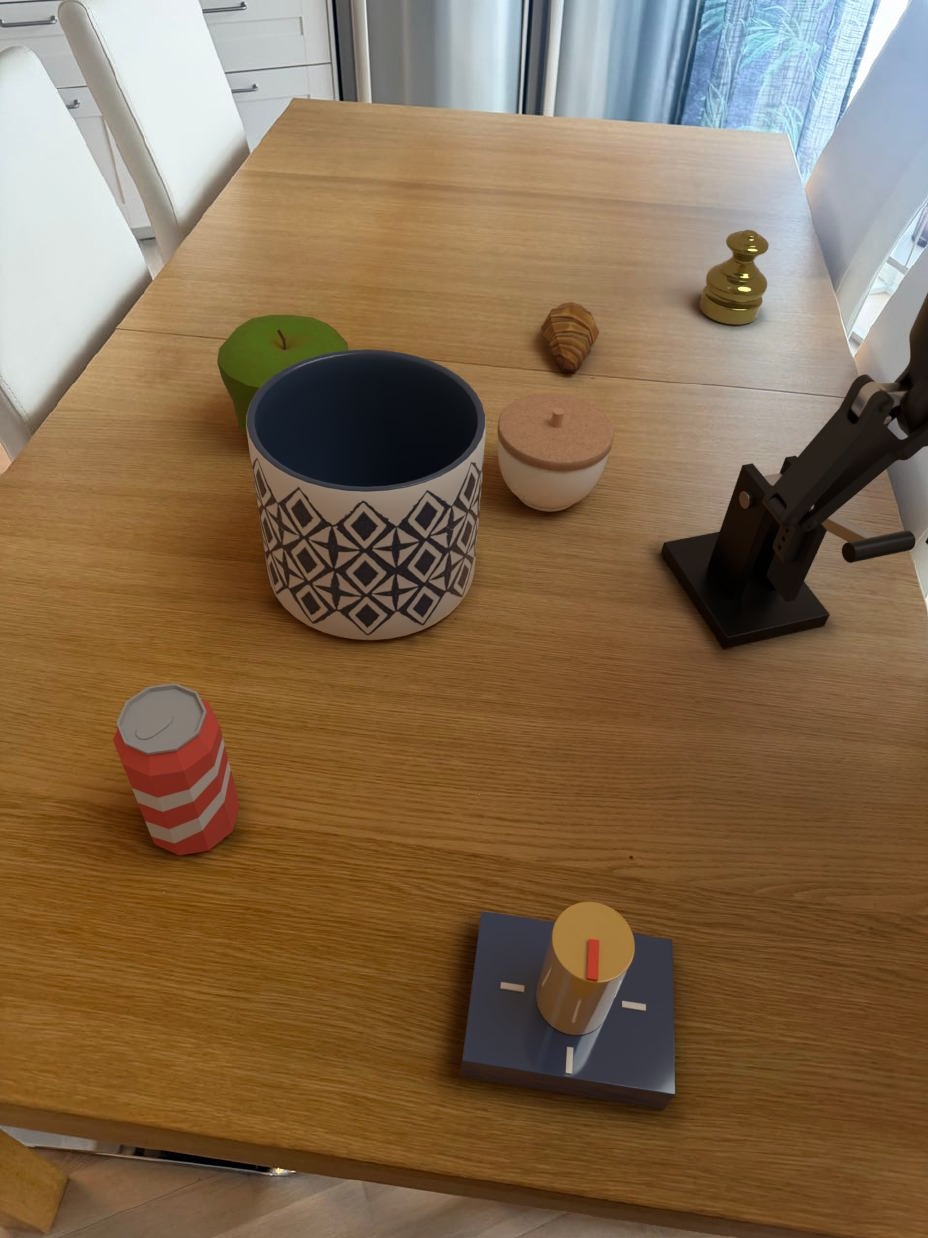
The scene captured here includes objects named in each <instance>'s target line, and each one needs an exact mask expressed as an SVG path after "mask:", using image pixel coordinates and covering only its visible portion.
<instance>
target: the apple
mask: <svg viewBox="0 0 928 1238" xmlns="http://www.w3.org/2000/svg"><path fill="white" fill-rule="evenodd" d="M346 350H350V349H349V344H348V341H346V339H345V338H344V337H343V336H342V335H341V334H340V333H339V331H337V329H335V328H334V327H333V326H331V325H330V324H329V323H328V322H327V323H326V322H324V321H322V320H320V319H317V318H314V317H313V316H312V317H311V316H304V315H295V314H267V315H263V316H256V317H252V318H249V319H248V320H247V321H245V322H244V323H242V324H240V325H238V326H237V327H236V328H235V329H234V330H233V331H232V333H231V334H230V335H229V336H228V338H227V339H226V340H225V341H223V343H222V345H221V346H220V347H219V348H218V354H217V360H216V363H217V368H218V370H219V374H220V377H221V380H222V382H223V385H224V386H225V389H226V390H227V393H228V394H229V397H230V399H231V402H232V404H233V405H232V406H233V409H234V412H235V415H236V416H235V417H236V419H237V420H236V421H237V424H238V428H240V430H241V431H242V432H243V433H244V435H245V436H246V437H247V429H246V415H247V412H248V408H249V405H250V403H251V401H252V399H253V397H254V396H255V394H256V392H257V391H258V390H259V389H260V388H261V387H262V385H263V384H264V383H265V382H266V381H268V380H269V379H270V378H271V377H273V376H274V375H275V374H277V373H278V372H280V371H282V370H283V369H285V368H287V367H288V366H291V365H293V364H295V363H297V362H300V361H302V360H305V359H308V358H311V357H314V356H318V355H322V354H327V353H332V352H338V351H346Z"/></svg>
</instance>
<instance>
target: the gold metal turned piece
mask: <svg viewBox="0 0 928 1238" xmlns="http://www.w3.org/2000/svg"><path fill="white" fill-rule="evenodd" d="M725 243H726V246H727V248H728V249H729V250H730V251H731V257H730V258H728V259H726V260H724V261H722V262H721V263H718V264H716V265H714V266H712V267H711V268H710V269H709V270H708V271H707V272H706V276H705V286H704V287H703V288H702V294H701V298H700V301H699V308H700V311H701V312H702V313H703V314H704V316H706V317H707V318H709V319H711V320H713V321H715V322H717V323H721V324H724V325H730V326H731V325H733V326H734V325H735V326H740V325H741V326H742V325H746V324H750V323H752V322H753V321H755V320H756V319H757V318H758V315H759V314H760V313H759V312H760V309H761V306H762V304H763V302H764V301H763V296H764V295H765V293H766V292H767V289H768V280H767V278H766V276H765V275H764V273H762V271H760V268H759V267H758V266H757V264H756V263H755V260H756V258H758V257H759V256H762V255H764V254H765V253H766V252H767V251H768V250H769V246H770V245H769V242H768V240H767V239H766V238H765V237H763V236H762V235H761V234H759V233H758V232H756V231H755V230H752V229H744V230H740V231H735V232H733V233H730V234H728V235H727V237H726V240H725Z"/></svg>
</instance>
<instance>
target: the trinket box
mask: <svg viewBox="0 0 928 1238" xmlns="http://www.w3.org/2000/svg"><path fill="white" fill-rule="evenodd" d="M496 432H497V444H496V445H497V447H496V448H497V449H496V451H497V452H496V453H497V461H498V467H499V472H500V473H501V476H502V479H503V481H504V483H505V484H506V487H508V489H509V490H510V491H511V493H512V494H514V495H515V496H516V497H517V498H518V499H519V500H520V502H522V503H523V504H524V505H526V506H527V507H529V508H532V509H533V510H536V511H542V512H550V513H551V512H559V511H563V510H566V509H569V508H570V507H571V506H573V505H575V504H577V503H579V502H580V501H583V500H584V499H585V498H587V496H589V495H590V494H591V493H592V492H593V490H594V489H595V488H596V486H597V485H598V484H599V482H600V480H601V478H602V476H603V474H604V472H605V469H606V468H607V463H608V461H609V456H610V451H611V449H612V447H613V443H614V439H615V430H614V426H613V423H612V421H611V420H610V418H609V416H607V414H606V412H604V411H603V410H601V408H599V407H598V406H596V405H595V404H593V403H591V402H589V401H587V400H584V399H583V398H580V397H576V396H572V395H569V394H563V393H553V392H551V393H549V392H544V393H534V394H530V395H526V396H523V397H520V398H518V399H515V400H514V401H512V402H511V403H509V404H508V405H507V406H506V407H505V408H504V409H503V410H502V411H501V412H500V415H499V417H498V419H497V431H496Z"/></svg>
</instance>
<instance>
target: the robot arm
mask: <svg viewBox="0 0 928 1238" xmlns="http://www.w3.org/2000/svg"><path fill="white" fill-rule="evenodd" d="M908 342H909V361H908V364H907V365H906V367H905V368H904V370H903V371H902V372H901V374H899V376H898V377H897V378H895V380H894V381H893V382H880V383H879V382H876V381H875V380H874V379H873V378H872V377H871V376H870V375H869V374H866V373H864V374H861V375H859V376H857V377H856V378H855V379H854V380H853V382H852V383H851V384H850V387H849V389H848V391H847V392H846V395H845V397H844V398H843V400H842V402H841V403H840V406H839V408H838V409H837V410H836V411H835V413H834V414H833V415H832V416H831V417H830V418H829V420H828V421H827V422H826V423H825V424H824V425H823V427H822V428H821V429H820V430H819V431H818V433H816V435H815V436H814V437H813V438H812V439H811V440H810V442H809V443H808V444H807V445H806V446H805V448H804V449H803V450H802V451H801V453H799V455H798V456H797V458H796V460H795V461H794V462H793V463H792V464H791V465H790V467H789V468H788V469H787V470H786V471H785V473H784V474H783V475H782V476H781V477H780V478H779V480H778V481H777V482H776V483H775V484H774V485H773V487H772V488H771V489H770V490H769V491H768V493H767V494H766V495H765V496H764V498H763V500H762V502H763V504H764V505H765V507H766V508H767V509H768V510H769V512H770V513H771V514H772V515H773V517H774V518H775V519H776V520H777V522H778V523H779V524H780V525H781V526H780V528H779V531H778V534H777V536H776V539H775V540H774V543H773V550H774V551H775V555H774V557H773V560H772V562H771V564H770V567H769V569H768V572H767V574H766V576H767V578H768V579H769V580H770V582H771V583H772V584H773V586H774V587H775V588H776V590H777V591H778V592H779V594H780V595H781V596H782V598H783V599H784V600H785V602H789V601H794V600H796V598H797V595H798V593H799V591H800V589H801V587H802V584H803V582H805V580H806V578H807V576H808V574H809V571H810V569H811V567H812V565H813V563H814V560H815V558H816V556H817V554H818V552H819V549H820V547H821V546H822V543H823V541H824V538H825V537H826V534H827V532H828V531H827V530H826V529H825V527H824V526H823V525H822V524H821V523H823V522H824V521H825V520H826V519H827V518H829V517H830V516H831V515H832V514H833V513H836V512H837V511H838V510H840V509H841V508H842V507H843V506H844V505H846V503H848V502H849V501H850V500H851V499H853V498H854V497H855V496H856V495H857V494H858V493H860V492H861V491H862V490H863V489H865V488H866V487H867V486H868V485H869V484H870V483H871V482H872V481H874V480H875V479H876V478H878V477H879V476H880V475H881V474H882V473H884V472H885V471H887V469H888V468H889V467H891V466H892V465H893V464H894V463H895V462H897V461H907V460H909V459H911V458H913V456H914V455H916V454H917V453H918V452H919V451H921V450H922V449H923V448H925V447H928V292H927V293H926V295H925V297H924V300H923V302H922V304H921V305H920V308H919V311H918V313H917V315H916V317H915V320H914V322H913V324H912V326H911V328H910V330H909V336H908ZM895 419H896V421H897V425H898V427H899V429H900V430H901V431H902V432H903V434H905V435H906V437H905V438H902V439H901V438H899V437H898V436H897V435H896V434H895V433H893V432H892V430H891V429H890V428H889V425H890V424H891V423H892V422H893V421H894V420H895ZM813 505H814V507H813V509H811V507H812V506H813ZM925 544H926V545H928V537H927V538H926V540H925Z"/></svg>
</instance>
